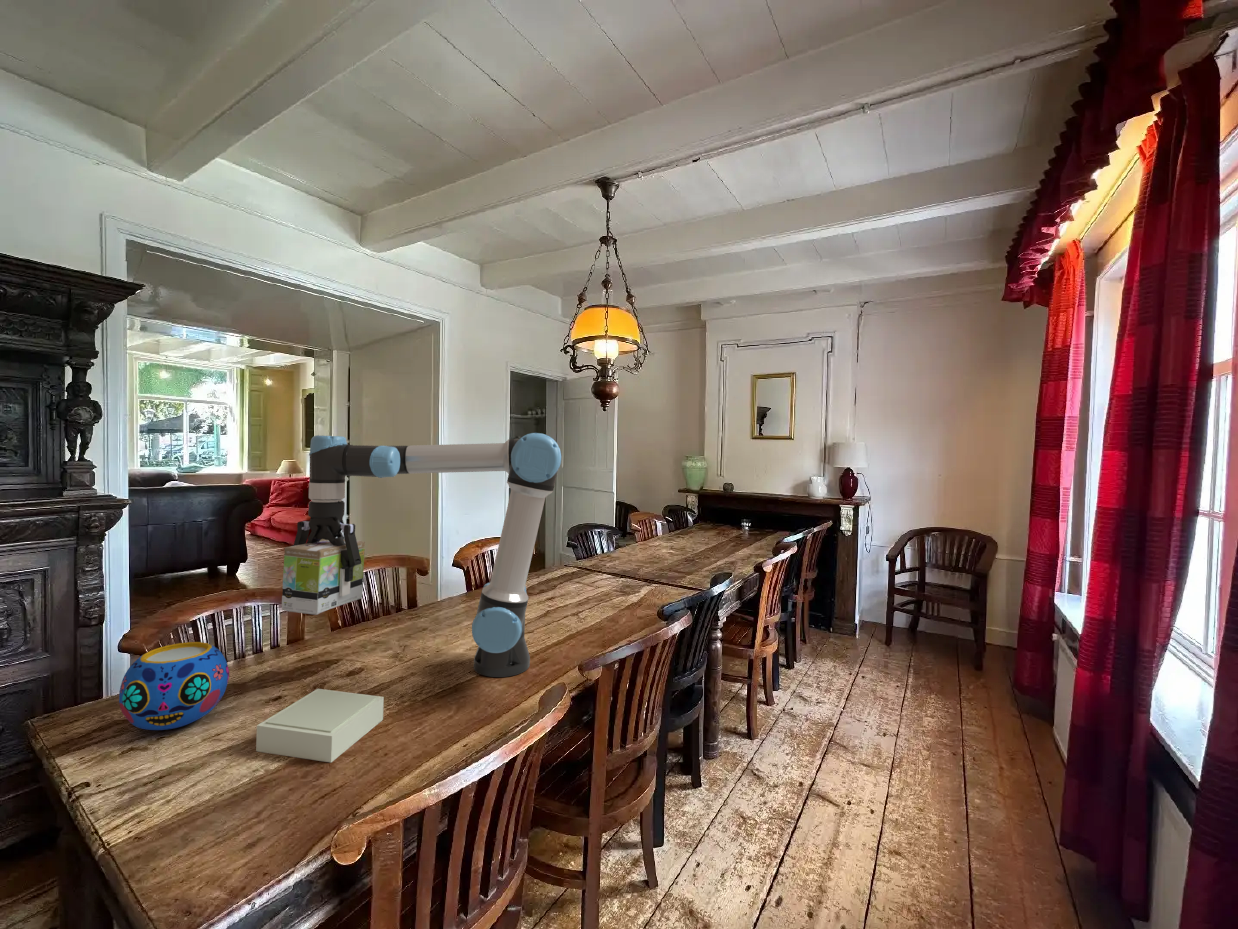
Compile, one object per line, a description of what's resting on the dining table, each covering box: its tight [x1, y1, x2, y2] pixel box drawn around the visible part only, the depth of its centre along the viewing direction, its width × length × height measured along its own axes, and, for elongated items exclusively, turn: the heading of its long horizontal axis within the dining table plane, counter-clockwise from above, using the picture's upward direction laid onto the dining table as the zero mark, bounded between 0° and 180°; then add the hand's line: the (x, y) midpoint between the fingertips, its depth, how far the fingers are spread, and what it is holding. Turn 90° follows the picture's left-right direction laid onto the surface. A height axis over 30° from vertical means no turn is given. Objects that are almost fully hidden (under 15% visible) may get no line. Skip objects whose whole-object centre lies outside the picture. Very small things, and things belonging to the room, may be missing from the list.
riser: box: [255, 688, 385, 763], centre depth 106 cm, size 16×16×5 cm
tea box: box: [281, 539, 366, 616], centre depth 125 cm, size 15×10×15 cm, turn 168°
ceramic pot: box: [118, 641, 230, 731], centre depth 108 cm, size 18×18×15 cm
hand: (324, 592), depth 125 cm, fingers closed on tea box, 10 cm apart
